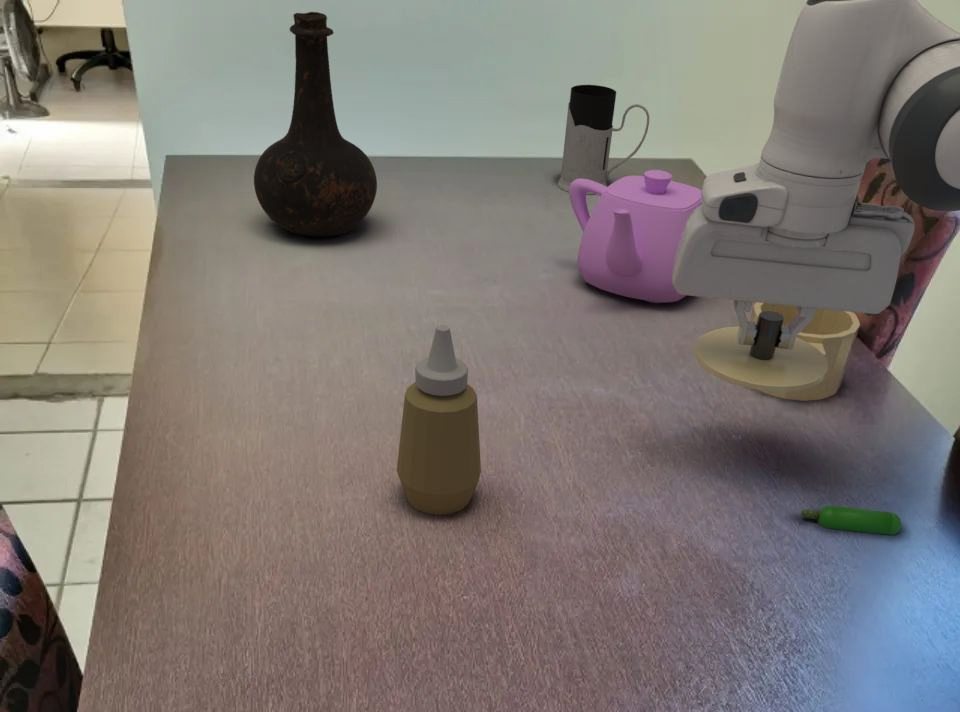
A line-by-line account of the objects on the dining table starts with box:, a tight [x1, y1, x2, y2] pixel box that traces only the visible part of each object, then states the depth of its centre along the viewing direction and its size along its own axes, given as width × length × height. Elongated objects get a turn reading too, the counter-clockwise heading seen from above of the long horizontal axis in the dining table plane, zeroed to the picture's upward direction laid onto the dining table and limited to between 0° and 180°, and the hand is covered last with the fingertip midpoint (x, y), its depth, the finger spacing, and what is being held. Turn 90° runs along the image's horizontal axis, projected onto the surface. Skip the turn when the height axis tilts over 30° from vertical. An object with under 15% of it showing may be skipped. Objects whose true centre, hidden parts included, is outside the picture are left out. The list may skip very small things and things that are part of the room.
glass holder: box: [557, 84, 650, 196], centre depth 164 cm, size 9×14×15 cm, turn 75°
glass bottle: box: [253, 11, 378, 238], centre depth 139 cm, size 18×18×28 cm
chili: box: [800, 505, 902, 536], centre depth 95 cm, size 10×2×2 cm, turn 83°
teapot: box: [568, 169, 702, 304], centre depth 132 cm, size 23×21×15 cm
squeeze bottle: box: [396, 324, 482, 516], centre depth 89 cm, size 8×8×18 cm
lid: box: [694, 311, 828, 392], centre depth 95 cm, size 13×13×5 cm
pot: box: [749, 302, 861, 402], centre depth 116 cm, size 12×17×8 cm
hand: (763, 344), depth 95 cm, fingers closed on lid, 2 cm apart
